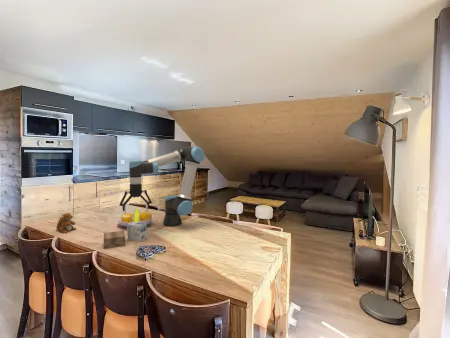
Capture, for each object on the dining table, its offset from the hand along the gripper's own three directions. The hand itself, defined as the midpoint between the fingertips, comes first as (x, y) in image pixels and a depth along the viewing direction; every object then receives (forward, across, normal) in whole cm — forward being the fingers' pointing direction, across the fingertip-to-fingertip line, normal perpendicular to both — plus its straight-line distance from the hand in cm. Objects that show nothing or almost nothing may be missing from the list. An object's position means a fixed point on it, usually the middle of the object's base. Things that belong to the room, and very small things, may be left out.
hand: (136, 214), depth 163 cm
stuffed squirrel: (+17, +46, -38) cm, 62 cm away
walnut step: (+17, +14, +3) cm, 22 cm away
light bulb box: (+17, 0, 0) cm, 17 cm away
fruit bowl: (+17, -3, -33) cm, 37 cm away
